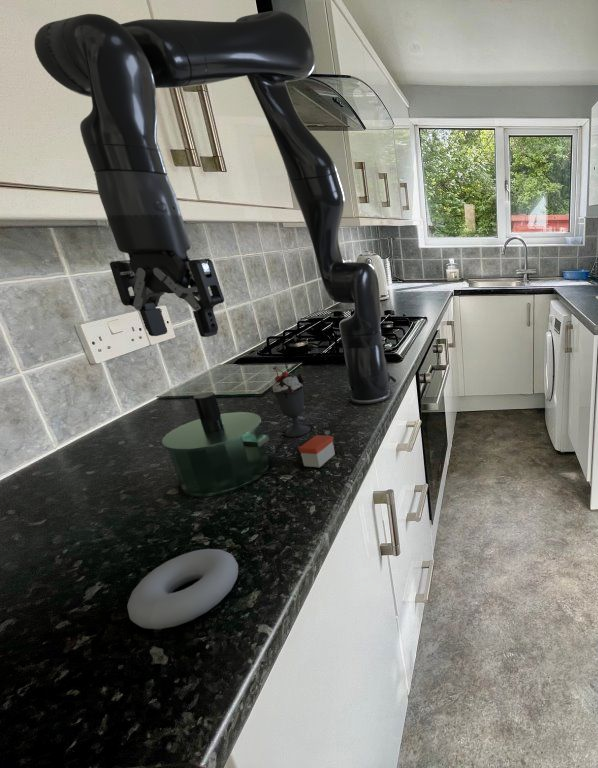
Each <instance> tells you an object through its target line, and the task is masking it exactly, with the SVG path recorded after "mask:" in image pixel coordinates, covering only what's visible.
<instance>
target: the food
mask: <svg viewBox="0 0 598 768" xmlns="http://www.w3.org/2000/svg"><path fill="white" fill-rule="evenodd" d="M334 447H335V446H334V437H333V435H321V434H316V435H315V436H313V437H311V438H310V439H309V440H307V441H306V442H305V443H303V444H302V445H301V446H299V447H298V451H299V453H300V455H301V459H302V460H301V461H302V464H303V467H307V468H309V467H310V468H321V467H322V466H323V465H324V464H325V463H327V462H328V461H330V460H331V459H332V458H333V457H334V456H335V455H336V453H335V448H334Z"/></svg>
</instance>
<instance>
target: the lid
mask: <svg viewBox="0 0 598 768" xmlns="http://www.w3.org/2000/svg"><path fill="white" fill-rule="evenodd" d="M192 398H193V401H194V404H195V407H196V411H197V414H198V417H199V418H198V419H194V420H192V421H188V422H187V423H184V424H182V425H180V426H178V427H176V428H173V429H172V430H171V431H169V432H167V433H166V434H167V435H166V434H164V437H162V439H161V444H162V446H163V448H165V449H166V450H167V451H168V450H172V451H182V452H183V451H197V450H203V449H209V448H213V447H217V446H221V445H225V444H228V443H231V442H234V441H236V440H239V439H241V438H243V437H245V436H247V435H249V434H251V433H252V432H254V431H255V430H256V429H258V428H259V426H260V427H261V425H262V417H261V416H260V415H258V414H257V413H253V412H247V411H235V412H226V413H221V412H220V411H221V410H220V408H219V404H218V400H217V397H216V394H215V392H212V391H209V392H208V391H207V392H201V393H198V394H195V395H194V396H193V397H192Z"/></svg>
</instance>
